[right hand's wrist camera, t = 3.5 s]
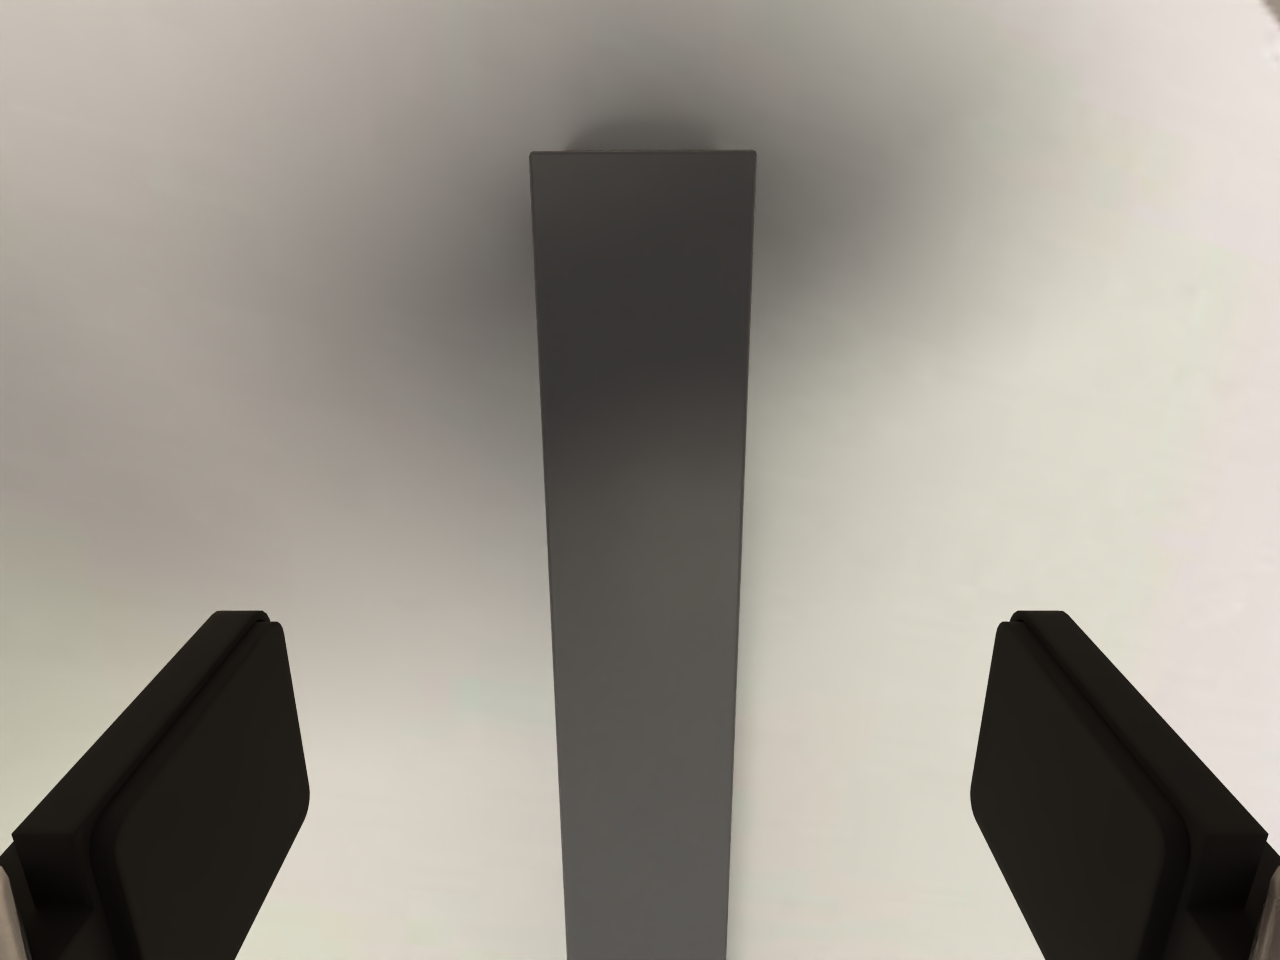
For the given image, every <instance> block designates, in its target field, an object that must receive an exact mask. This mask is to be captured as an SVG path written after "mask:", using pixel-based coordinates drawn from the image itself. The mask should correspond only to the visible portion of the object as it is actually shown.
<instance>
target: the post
mask: <svg viewBox="0 0 1280 960" xmlns="http://www.w3.org/2000/svg"><path fill="white" fill-rule="evenodd" d="M756 160H757V154H756V151H754V150H649V151H533V152H531V153H530V155H529V166H530V187H531V209H532V230H533V251H534V272H535V293H536V314H537V335H538V356H539V377H540V398H541V419H542V440H543V461H544V482H545V503H546V524H547V546H548V567H549V588H550V609H551V630H552V651H553V672H554V693H555V714H556V735H557V756H558V777H559V798H560V819H561V840H562V862H563V883H564V904H565V925H566V946H567V960H726V947H727V920H728V894H729V868H730V842H731V815H732V789H733V763H734V737H735V710H736V684H737V658H738V632H739V606H740V579H741V553H742V527H743V501H744V474H745V448H746V422H747V396H748V370H749V343H750V317H751V291H752V265H753V238H754V212H755V186H756Z"/></svg>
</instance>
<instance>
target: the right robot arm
mask: <svg viewBox="0 0 1280 960" xmlns="http://www.w3.org/2000/svg"><path fill="white" fill-rule="evenodd" d="M309 798H310V790H309V782H308V776H307V770H306V764H305V758H304V752H303V746H302V740H301V734H300V728H299V722H298V716H297V710H296V703H295V697H294V691H293V685H292V679H291V673H290V667H289V661H288V655H287V649H286V643H285V637H284V632H283V628H282V626H281V624H280V623H278V622H270V619H269V617H268V615H267V614H266V613H265V612H264V611H216V612H215V613H214V614H212V615H211V616H210V618H209V619H208V620H207V621H206V622H205V623H204V624H203V625H202V626H201V627H200V628H199V630H198V631H197V632H196V633H195V634H194V635H193V636H192V637H191V638H190V639H189V640H188V642H187V643H186V644H185V645H184V646H183V647H182V648H181V649H180V650H179V651H178V652H177V654H176V655H175V656H174V657H173V658H172V659H171V660H170V661H169V662H168V663H167V665H166V666H165V667H164V668H163V669H162V670H161V671H160V672H159V673H158V674H157V675H156V677H155V678H154V679H153V680H152V681H151V682H150V683H149V684H148V685H147V686H146V687H145V689H144V690H143V691H142V692H141V693H140V694H139V695H138V696H137V697H136V698H135V700H134V701H133V702H132V703H131V704H130V705H129V706H128V707H127V708H126V709H125V710H124V712H123V713H122V714H121V715H120V716H119V717H118V718H117V719H116V720H115V721H114V722H113V724H112V725H111V726H110V727H109V728H108V729H107V730H106V731H105V732H104V733H103V734H102V736H101V737H100V738H99V739H98V740H97V741H96V742H95V743H94V744H93V745H92V747H91V748H90V749H89V750H88V751H87V752H86V753H85V754H84V755H83V756H82V757H81V759H80V760H79V761H78V762H77V763H76V764H75V765H74V766H73V767H72V768H71V769H70V771H69V772H68V773H67V774H66V775H65V776H64V777H63V778H62V779H61V780H60V782H59V783H58V784H57V785H56V786H55V787H54V788H53V789H52V790H51V791H50V792H49V794H48V795H47V796H46V797H45V798H44V799H43V800H42V801H41V802H40V803H39V804H38V806H37V807H36V808H35V809H34V810H33V811H32V812H31V813H30V814H29V815H28V817H27V818H26V819H25V820H24V821H23V822H22V823H21V824H20V825H19V826H18V827H17V829H16V830H15V831H14V832H13V833H12V837H13V843H12V844H11V845H10V846H9V847H8V848H7V849H6V850H5V851H4V853H3V854H2V855H1V856H0V960H235V958H236V956H237V954H238V952H239V950H240V948H241V946H242V944H243V942H244V940H245V938H246V936H247V934H248V932H249V930H250V928H251V926H252V924H253V922H254V920H255V918H256V916H257V914H258V912H259V910H260V908H261V906H262V904H263V902H264V900H265V898H266V896H267V894H268V892H269V890H270V888H271V886H272V884H273V882H274V880H275V878H276V876H277V874H278V872H279V870H280V868H281V866H282V864H283V862H284V860H285V858H286V856H287V854H288V852H289V850H290V848H291V846H292V844H293V842H294V840H295V838H296V836H297V834H298V832H299V830H300V828H301V826H302V824H303V822H304V819H305V817H306V814H307V811H308V806H309ZM970 798H971V806H972V811H973V814H974V817H975V819H976V822H977V824H978V826H979V828H980V830H981V832H982V834H983V836H984V838H985V840H986V842H987V844H988V846H989V848H990V850H991V852H992V854H993V856H994V858H995V860H996V862H997V864H998V866H999V868H1000V870H1001V872H1002V874H1003V876H1004V878H1005V880H1006V882H1007V884H1008V886H1009V888H1010V890H1011V892H1012V894H1013V896H1014V898H1015V900H1016V902H1017V904H1018V906H1019V908H1020V910H1021V912H1022V914H1023V916H1024V918H1025V920H1026V922H1027V924H1028V926H1029V928H1030V930H1031V932H1032V934H1033V936H1034V938H1035V940H1036V942H1037V944H1038V946H1039V948H1040V950H1041V952H1042V954H1043V956H1044V958H1045V960H1280V856H1279V855H1278V854H1277V853H1276V851H1275V850H1274V849H1273V848H1272V847H1271V846H1270V845H1269V844H1268V843H1267V842H1266V841H1267V837H1268V833H1267V832H1266V831H1265V830H1264V829H1263V827H1262V826H1261V825H1260V824H1259V823H1258V822H1257V821H1256V820H1255V819H1254V818H1253V817H1252V815H1251V814H1250V813H1249V812H1248V811H1247V810H1246V809H1245V808H1244V807H1243V806H1242V804H1241V803H1240V802H1239V801H1238V800H1237V799H1236V798H1235V797H1234V796H1233V795H1232V794H1231V792H1230V791H1229V790H1228V789H1227V788H1226V787H1225V786H1224V785H1223V784H1222V783H1221V782H1220V780H1219V779H1218V778H1217V777H1216V776H1215V775H1214V774H1213V773H1212V772H1211V771H1210V769H1209V768H1208V767H1207V766H1206V765H1205V764H1204V763H1203V762H1202V761H1201V760H1200V759H1199V757H1198V756H1197V755H1196V754H1195V753H1194V752H1193V751H1192V750H1191V749H1190V748H1189V747H1188V745H1187V744H1186V743H1185V742H1184V741H1183V740H1182V739H1181V738H1180V737H1179V736H1178V735H1177V733H1176V732H1175V731H1174V730H1173V729H1172V728H1171V727H1170V726H1169V725H1168V724H1167V722H1166V721H1165V720H1164V719H1163V718H1162V717H1161V716H1160V715H1159V714H1158V713H1157V712H1156V710H1155V709H1154V708H1153V707H1152V706H1151V705H1150V704H1149V703H1148V702H1147V701H1146V700H1145V698H1144V697H1143V696H1142V695H1141V694H1140V693H1139V692H1138V691H1137V690H1136V689H1135V687H1134V686H1133V685H1132V684H1131V683H1130V682H1129V681H1128V680H1127V679H1126V678H1125V677H1124V675H1123V674H1122V673H1121V672H1120V671H1119V670H1118V669H1117V668H1116V667H1115V666H1114V665H1113V663H1112V662H1111V661H1110V660H1109V659H1108V658H1107V657H1106V656H1105V655H1104V654H1103V652H1102V651H1101V650H1100V649H1099V648H1098V647H1097V646H1096V645H1095V644H1094V643H1093V642H1092V640H1091V639H1090V638H1089V637H1088V636H1087V635H1086V634H1085V633H1084V632H1083V631H1082V630H1081V628H1080V627H1079V626H1078V625H1077V624H1076V623H1075V622H1074V621H1073V620H1072V619H1071V618H1070V616H1069V615H1068V614H1066V613H1065V612H1064V611H1016V612H1015V613H1014V614H1013V615H1012V617H1011V619H1010V622H1002V623H1000V624H999V626H998V628H997V632H996V637H995V643H994V649H993V655H992V661H991V667H990V673H989V679H988V685H987V691H986V697H985V703H984V710H983V716H982V722H981V728H980V734H979V740H978V746H977V752H976V758H975V764H974V770H973V776H972V782H971V790H970Z"/></svg>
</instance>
